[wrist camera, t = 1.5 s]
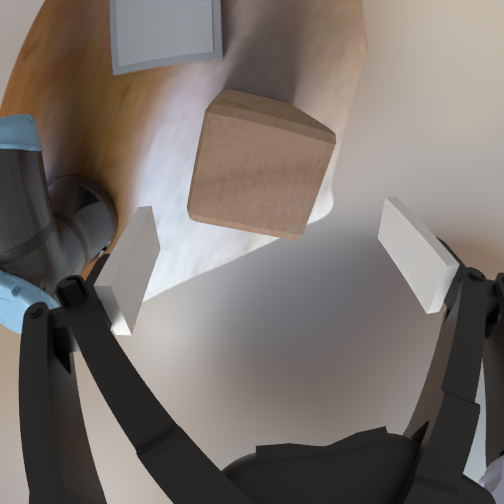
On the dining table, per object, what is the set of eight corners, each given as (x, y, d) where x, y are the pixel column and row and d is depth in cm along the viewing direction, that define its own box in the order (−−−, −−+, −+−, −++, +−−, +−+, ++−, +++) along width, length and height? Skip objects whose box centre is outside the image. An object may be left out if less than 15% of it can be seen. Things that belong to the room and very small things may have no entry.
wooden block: (221, 87, 35) (207, 98, 18) (294, 104, 36) (344, 134, 20) (205, 155, 40) (183, 224, 23) (274, 170, 42) (302, 246, 25)
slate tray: (121, 74, 32) (112, 75, 29) (117, -12, 24) (109, -17, 22) (223, 60, 32) (222, 58, 30) (220, -30, 25) (218, -38, 22)
